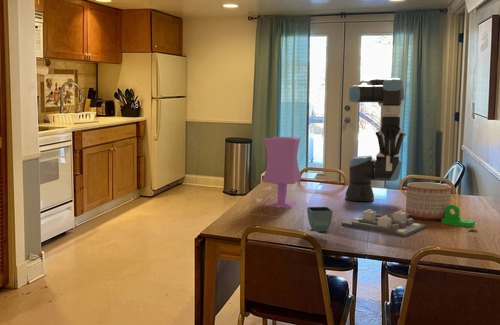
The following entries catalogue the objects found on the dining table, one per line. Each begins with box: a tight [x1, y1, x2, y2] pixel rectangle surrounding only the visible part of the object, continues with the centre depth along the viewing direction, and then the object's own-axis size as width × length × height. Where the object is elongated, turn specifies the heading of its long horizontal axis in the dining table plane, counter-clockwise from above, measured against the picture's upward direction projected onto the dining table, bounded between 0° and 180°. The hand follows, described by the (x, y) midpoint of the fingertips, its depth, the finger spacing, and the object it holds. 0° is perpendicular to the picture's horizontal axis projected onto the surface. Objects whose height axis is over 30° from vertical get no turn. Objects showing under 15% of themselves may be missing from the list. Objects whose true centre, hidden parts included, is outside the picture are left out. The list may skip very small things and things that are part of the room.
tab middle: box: [362, 208, 377, 221], centre depth 206 cm, size 4×4×5 cm
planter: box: [405, 181, 452, 221], centre depth 220 cm, size 19×19×15 cm
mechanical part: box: [441, 204, 476, 228], centre depth 206 cm, size 12×6×8 cm, turn 49°
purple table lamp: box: [262, 136, 302, 209], centre depth 241 cm, size 16×16×35 cm
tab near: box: [378, 214, 392, 228], centre depth 194 cm, size 4×4×5 cm
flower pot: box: [306, 206, 334, 233], centre depth 193 cm, size 9×9×9 cm
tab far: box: [392, 210, 407, 221], centre depth 204 cm, size 4×4×5 cm
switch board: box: [340, 214, 428, 238], centre depth 201 cm, size 28×22×3 cm
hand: (388, 170), depth 206 cm, fingers closed
